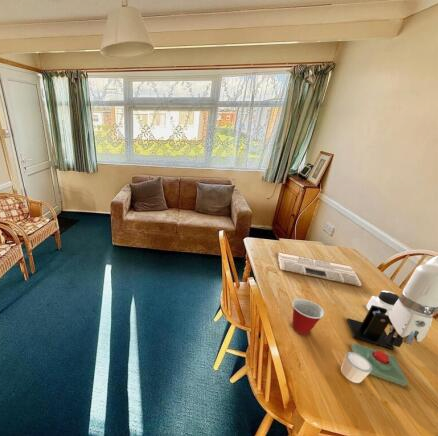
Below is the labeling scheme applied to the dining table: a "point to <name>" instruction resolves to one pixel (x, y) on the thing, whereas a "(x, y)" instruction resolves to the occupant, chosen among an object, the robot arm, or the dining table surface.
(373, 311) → the lever
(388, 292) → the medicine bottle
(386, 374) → the button box
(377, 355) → the button
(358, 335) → the bracket
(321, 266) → the newspaper
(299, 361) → the dining table surface
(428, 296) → the robot arm
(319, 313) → the plastic cup
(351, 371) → the white cup
